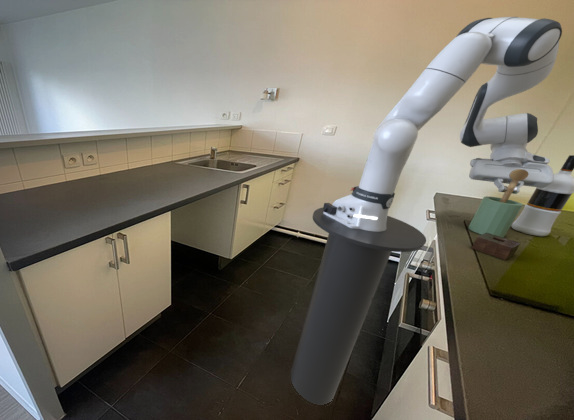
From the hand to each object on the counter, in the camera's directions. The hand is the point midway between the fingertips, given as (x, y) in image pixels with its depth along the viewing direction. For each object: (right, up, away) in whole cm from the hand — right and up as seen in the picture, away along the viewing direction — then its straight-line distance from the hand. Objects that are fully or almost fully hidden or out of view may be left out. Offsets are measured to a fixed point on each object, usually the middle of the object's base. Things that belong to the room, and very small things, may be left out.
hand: (508, 192), depth 88 cm
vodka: (+19, -15, +9) cm, 26 cm away
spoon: (0, -10, +5) cm, 11 cm away
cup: (0, -15, +7) cm, 16 cm away
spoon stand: (-15, -20, -8) cm, 26 cm away
